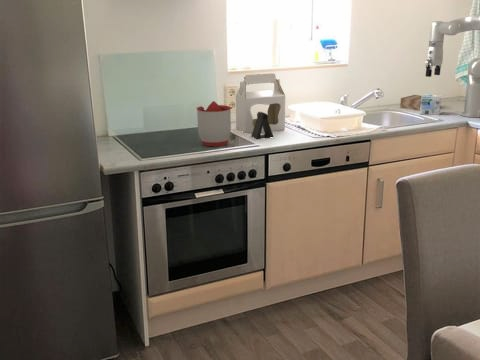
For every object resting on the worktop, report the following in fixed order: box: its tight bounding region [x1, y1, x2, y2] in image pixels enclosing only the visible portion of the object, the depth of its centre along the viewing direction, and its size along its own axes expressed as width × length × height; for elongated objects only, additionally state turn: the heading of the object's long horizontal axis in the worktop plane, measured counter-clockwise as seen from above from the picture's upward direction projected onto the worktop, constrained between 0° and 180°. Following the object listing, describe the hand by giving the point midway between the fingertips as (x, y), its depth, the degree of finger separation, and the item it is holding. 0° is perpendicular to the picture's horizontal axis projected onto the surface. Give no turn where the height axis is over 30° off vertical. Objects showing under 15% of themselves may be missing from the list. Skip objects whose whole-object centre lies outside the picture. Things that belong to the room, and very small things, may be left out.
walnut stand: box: [399, 94, 422, 111], centre depth 336 cm, size 16×16×6 cm
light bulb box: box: [419, 93, 442, 116], centre depth 317 cm, size 11×7×11 cm, turn 73°
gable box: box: [235, 73, 286, 134], centre depth 282 cm, size 22×13×28 cm, turn 112°
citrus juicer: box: [196, 100, 232, 147], centre depth 254 cm, size 16×17×20 cm
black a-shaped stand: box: [251, 111, 274, 140], centre depth 267 cm, size 9×6×12 cm, turn 112°
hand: (432, 75), depth 312 cm, fingers open, 9 cm apart
